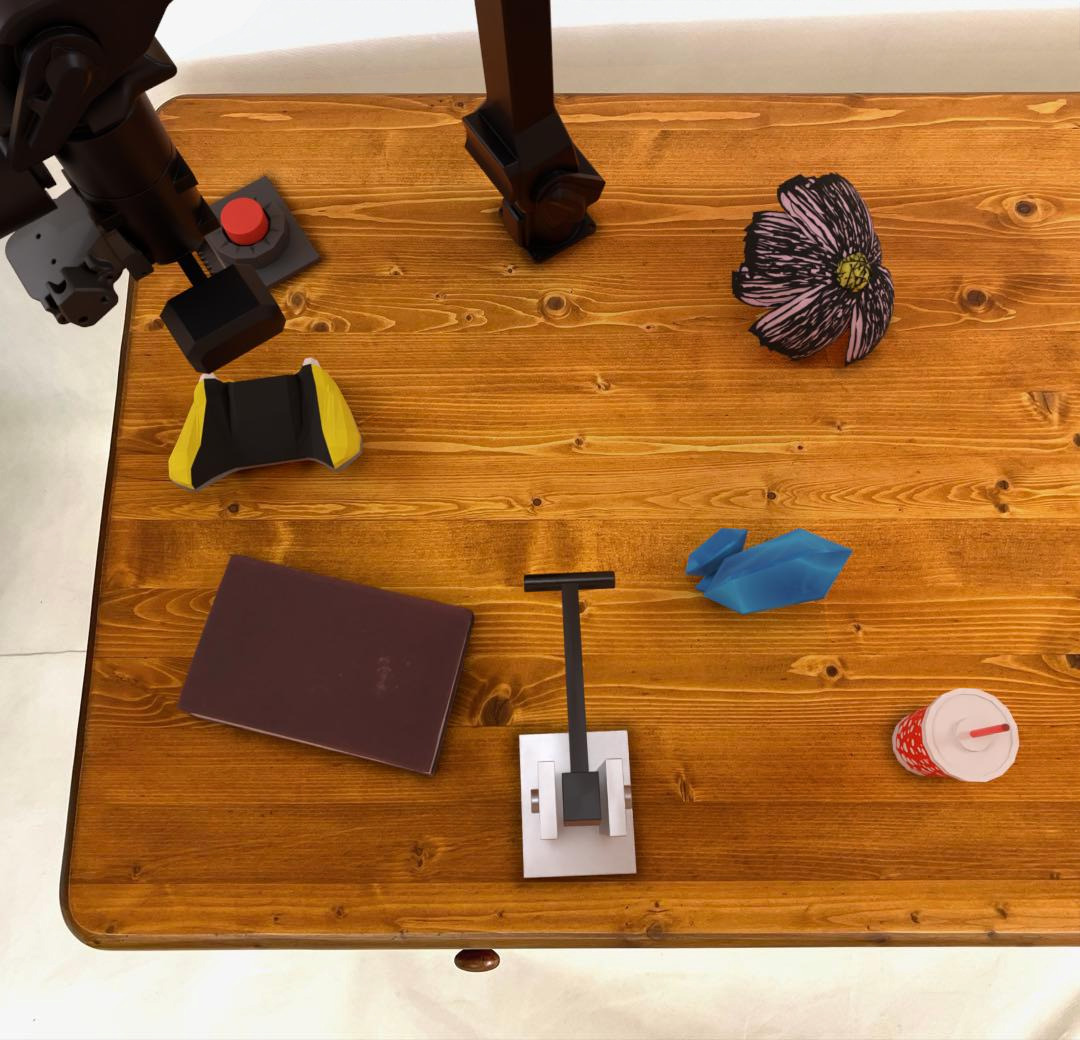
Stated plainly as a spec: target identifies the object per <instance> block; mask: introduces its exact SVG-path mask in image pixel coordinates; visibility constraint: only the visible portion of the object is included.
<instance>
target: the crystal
mask: <svg viewBox="0 0 1080 1040" xmlns="http://www.w3.org/2000/svg"><path fill="white" fill-rule="evenodd" d="M748 533H749V529H745V528H732V527H731V528H730V527H729V528H728V527H720V528H719V529H718V530H717V531H716V532H715V533H714V534H712V535H711V536H710V537H709V538H708V539H706V540H705V541H704V542H703V543H702V544H700V545H699V546H698V547H697V548H695V549H694V550H693V551H692V552H691V553H690V554H689V556H688V560H687V565H686V569H685V573H684V575H690V576H699V577H702V579H701V580H700V581H699V583H697V585H696V586H695V587H694V589H695V590H697V591H699V592H701V593H703V595H702V597H704V598H706V599H708V600H711V601H713V602H715V603H716V604H719V605H721V606H723V607H725V608H727V609H730V610H732V611H734V612H736V613H738V614H740V615H742V616H746V615H750V614H755V613H761V612H764V611H771V610H775V609H779V608H784V607H789V606H794V605H799V604H804V603H809V602H814V601H819V600H824V599H825V598H826V596H827V594H828V593H829V591H830V590H831V588H832V586H833V585H834V584H835V581H836V579H838V577H839V575H840V573H841V571H842V570H843V569H844V566H845V565H846V563H847V562H848V560H849V558H850V557H851V555H852V553H853V552H854V550H853V549H852V548H849V547H847V546H844V545H842V544H839V543H837V542H834V541H832V540H830V539H827V538H824V537H822V536H821V535H817V534H816V533H813V532H810V531H808V530H806V529H803V528H800V527H798V528H795V529H793V530H791V531H788V532H786V533H784V534H781V535H778V536H776V537H774V538H771V539H768V540H766V541H764V542H761V543H759V544H757V545H754V546H751V547H749V548H747V549H744V547H745V544H746V539H747V537H748Z"/></svg>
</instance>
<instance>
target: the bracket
mask: <svg viewBox="0 0 1080 1040" xmlns="http://www.w3.org/2000/svg"><path fill="white" fill-rule="evenodd" d="M628 735H629V734H628V730H627V729H618V730H617V729H616V730H598V731H597V730H596V731H595V730H592V731H587V747H588V764H589V772H591V771H598V772H599V786H600V802H601V818H602V819H601V823H600V825H595V826H571V827H564V819H563V798H562V773H567V772H570V754H569V734H568V732H546V733H545V732H544V733H526V734H525V733H524V734H522V733H521V734H519V735H518V737H519V742H518V745H519V771H520V772H519V773H520V797H521V798H520V800H521V801H520V802H521V803H520V804H521V828H522V829H521V831H522V832H521V833H522V859H523V860H522V862H523V878H524V879H534V878H535V879H536V878H558V877H581V876H583V877H585V876H586V877H587V876H606V875H609V876H610V875H630V874H632V875H633V874H637V859H636V847H635V846H636V845H635V830H634V829H635V828H634V813H633V793H632V784H631V783H632V782H631V767H630V766H631V765H630V753H629V751H630V750H629V736H628Z"/></svg>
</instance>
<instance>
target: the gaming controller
mask: <svg viewBox="0 0 1080 1040" xmlns="http://www.w3.org/2000/svg"><path fill="white" fill-rule="evenodd" d="M363 441H364V440H363V437H362V434H361V432H360V429H359V426H358V425H357V422H356V420H355V417H354V414H353V412H352V410H351V408H350V406H349V405H348V403H347V401H346V399H345V397H344V396H343V393H342V392H341V390H340V388H339V385H338V384H337V383H336V382H335V380H334V379H333V378H332V376H331V375H330V373H328V372H327V371H326V370H325V369H323V368H322V367H321V365H320V363H319V361H318V360H317V359H315V358H313V357H311V356H310V357H307V358H304V361H303V363H302V366H301V368H300V369H297V370H296V371H295V372H293V373H290V374H289V373H288V374H281V375H280V374H279V375H274V376H265V377H259V378H253V379H245V380H238V381H235V380H232V379H231V378H230V379H226V380H223V381H222V380H220V379H219V378H218V377H217V376H216V375H215V374H214V372H213V373H211V374H204V373H202V374H201V375H200V376H199V380H198V383H197V384H196V386H195V388H194V391H193V403H192V405H191V407H190V408H189V412H188V413H187V416H186V419H185V421H184V424H183V426H182V428H181V431H180V433H179V436H178V439H177V441H176V442H175V446H174V448H173V450H172V452H171V454H170V456H169V458H168V460H167V461H168V478H169V479H170V482H172V483H173V484H175V485H176V486H177V487H179V488H182V489H184V490H185V491H187V492H191V493H199V492H201V491H203V490H204V489H206V488H208V487H209V486H211V485H212V484H214V483H216V482H218V481H219V480H221V479H223V478H225V477H226V476H229V475H230V474H232V473H236V472H238V471H242V470H248V469H255V468H260V467H268V466H269V467H270V466H274V465H281V464H282V465H283V464H290V463H295V462H303V461H314V462H317V463H318V464H321V465H323V466H325V467H326V468H329V469H330V470H332V471H334V472H335V473H339V472H342V471H343V470H345V469H347V468H348V467H349V466H350V465H351V464H352V463H353V462H354V461H355V460H357V459H358V458H359V457H360V456H361V455H362V454H363V445H364V443H363Z"/></svg>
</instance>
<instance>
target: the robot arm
mask: <svg viewBox="0 0 1080 1040" xmlns="http://www.w3.org/2000/svg"><path fill="white" fill-rule="evenodd" d="M173 1H174V0H0V240H2V239H4V238H5V237H8V236H9V238H8V239H7V240H6V243H5V246H4V254H5V258H6V259H7V261H8V262H9V265H10V266H11V268H12V269H13V271H14V273H15V275H16V276H17V278H18V279H19V281H20V283H21V285H22V287H23V288H24V290H25V292H26V293H27V294H28V295H27V296H29V297H30V298H31V299H32V300H35V301H37V302H40V304H41V307H43V309H44V311H45V312H48V313H49V314H52V315H53V317H54V318H55V320H56V322H57V323H58V324H59V325H64V326H65V325H69V324H72V325H74V326H78V327H80V328H90V327H94V326H95V325H96V324H98V323H99V322H100V321H101V320H102V319H103V318H104V317H105V316H106V315H107V314H108V313H110V312H111V311H112V310H113V309H114V308H115V307H116V306H117V305H118V304H119V302H120V301H119V300H120V299H119V294H118V293H117V292H116V290H115V287H114V285H115V283H117V281H118V280H120V279H121V277H122V276H123V273H124V270H126V271H127V272H128V273H129V274H130V276H131V277H132V278H133V281H135V283H137V282H139V281H140V280H142V279H144V278H145V277H147V276H149V275H151V274H153V273H154V272H155V268H154V266H153V265H157V266H166V265H171V264H175V263H177V264H178V266H179V267H180V269H181V270H182V272H183V273H184V275H185V277H186V278H187V280H188V281H189V283H190V284H191V286H190V287H189V288H187V289H185V290H183V291H181V292H180V293H178V294H177V295H175V296H173V297H170V298H169V299H168V300H166V303H165V304H164V307H163V308H162V310H161V312H160V314H159V318H160V319H161V321H162V323H163V324H164V326H165V327H166V329H167V330H168V332H169V334H170V336H171V337H172V338H173V340H174V341H175V343H176V344H177V346H178V348H179V350H180V351H181V353H182V354H183V356H184V357H185V359H186V360H187V361H188V364H189V365H191V367H192V368H193V369H194V371H195V372H196V373H199V374H211V373H213V374H214V372H216V371H218V370H220V369H221V368H224V367H225V366H226V365H228V364H230V363H232V362H233V361H235V360H237V359H239V358H240V357H242V356H243V355H245V354H247V353H249V352H251V351H253V350H254V349H256V348H258V347H260V346H261V345H264V343H266V342H268V341H270V340H271V339H273V338H275V337H277V336H278V335H281V334H282V333H283V332H284V330H285V326H286V323H287V319H286V317H285V315H284V313H283V311H282V309H281V307H280V305H279V303H278V301H277V300H276V299H275V297H274V296H273V295H272V293H271V292H270V290H268V289H267V287H266V286H265V284H264V283H263V281H262V280H261V278H260V277H259V275H258V274H257V272H256V271H255V269H254V268H253V267H252V265H251V264H232V265H230V266H228V267H225V265H224V264H223V262H222V261H221V259H220V258H219V256H218V255H217V253H216V252H215V250H214V249H213V247H212V246H211V244H210V243H209V241H208V240H207V238H206V237H205V236H206V235H208V234H209V233H211V232H213V231H215V230H217V229H219V228H220V227H221V225H220V223H219V221H218V219H217V217H216V216H215V214H214V213H213V211H212V210H211V208H210V207H209V205H210V204H208V203H207V201H206V200H205V198H204V197H203V195H202V194H201V192H200V191H199V189H198V187H197V186H199V185H200V184H199V182H198V181H199V180H197V178H196V175H195V174H194V172H193V170H192V169H191V168H190V166H189V164H187V161H186V160H185V159H184V157H183V156H182V155H181V153H180V151H179V150H178V149H177V147H176V145H175V144H174V142H173V141H172V139H171V137H170V135H169V133H168V131H167V130H166V128H165V126H164V123H163V122H162V119H160V116H159V115H158V113H157V111H156V109H155V107H154V105H153V104H152V101H151V99H150V98H149V96H148V94H147V92H148V91H150V90H152V89H153V88H155V87H157V86H159V85H161V84H163V83H165V82H168V81H169V80H171V79H173V78H174V77H176V76H177V74H178V67H177V65H176V64H175V62H174V61H173V60H172V58H171V56H170V55H169V54H168V52H167V51H166V50H165V48H164V47H163V45H162V43H161V42H160V41H159V39H158V38H157V37H156V34H157V31H158V30H159V27H160V24H161V22H162V20H163V18H164V16H165V14H166V11H167V9H168V7H169V6H170V4H172V3H173ZM473 1H474V10H475V16H476V24H477V32H478V39H479V40H478V41H479V46H480V54H481V60H482V61H481V62H482V63H481V64H482V70H483V78H484V84H485V92H486V97H485V98H484V100H483V101H482V102H481V103H480V104H479V105H478V106H477V107H476V108H474V111H473V112H470V113H468V114H466V115H463V116H461V122H462V125H463V126H464V129H465V137H466V139H465V143H464V146H463V147H464V149H465V150H466V152H467V153H468V154H469V155H470V157H471V158H472V159H473V160H474V162H475V163H476V165H477V166H479V168H480V169H481V171H482V172H483V173H484V175H485V176H486V177H487V178H488V179H489V181H490V182H491V183H492V185H493V186H494V187H495V188H496V190H497V191H498V193H499V194H500V195H501V197H503V198H502V199H501V206H500V207H499V208H498V216H499V218H500V219H501V220H502V221H503V228H504V229H505V231H506V232H507V233H508V235H509V237H510V238H511V239H512V241H513V242H514V243H515V244H516V246H517V247H518V248H520V249H523V250H524V251H525V253H526V255H528V257H529V258H530V260H531V261H532V262H533V263H534V264H535V265H540V264H544V263H545V262H547V261H548V260H550V259H551V258H554V257H555V256H557V255H559V254H561V253H562V252H564V251H566V250H567V249H569V248H571V247H572V246H574V245H575V244H578V243H579V242H581V241H583V240H585V239H586V238H588V237H590V236H592V235H593V234H595V233H596V231H597V228H598V227H597V223H596V222H595V221H594V219H593V218H592V217H591V216H590V214H589V213H588V212H587V210H588V207H590V206H592V205H594V204H595V203H597V202H598V201H599V200H600V198H601V195H602V193H603V191H604V189H605V186H606V180H605V179H604V178H603V177H602V176H601V174H600V173H599V171H597V169H596V168H595V167H594V166H593V164H592V163H591V162H590V161H589V159H587V157H586V156H585V155H584V153H582V151H581V150H580V149H579V148H578V146H577V145H576V144H575V143H574V141H573V139H572V138H571V135H570V133H569V131H568V129H567V127H566V126H565V123H564V122H563V120H562V117H561V115H560V114H559V112H558V110H557V107H556V104H555V86H554V85H555V84H554V56H553V55H554V54H553V31H552V30H553V29H552V4H551V0H473ZM53 157H55V158H56V160H57V161H58V163H59V164H60V166H61V167H62V168H61V169H60V172H61V174H62V175H63V177H64V179H66V181H67V183H68V184H69V186H70V187H69V188H68V189H67V190H66V191H64V192H63V193H61V194H60V195H58V196H57V197H55V198H52V196H51V195H50V193H49V192H48V190H50V189H52V188H54V187H55V186H57V185H58V183H57V181H56V180H55V178H54V177H53V175H52V173H51V172H50V170H49V168H48V167H47V166H46V164H45V162H44V161H47V160H49V159H50V158H53ZM46 189H47V190H46ZM590 227H592V228H590ZM193 253H196V256H197V257H198V258H199V259H200V261H201V263H202V265H203V266H204V267H205V268H206V270H207V272H208V273H209V275H210V276H208V275H207V274H206V273H205V271H204V270H203V268H202V266H201V265H200V263H199V262H198V261H197V259H196V257H195V256H194V255H193ZM537 257H538V258H537Z"/></svg>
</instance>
